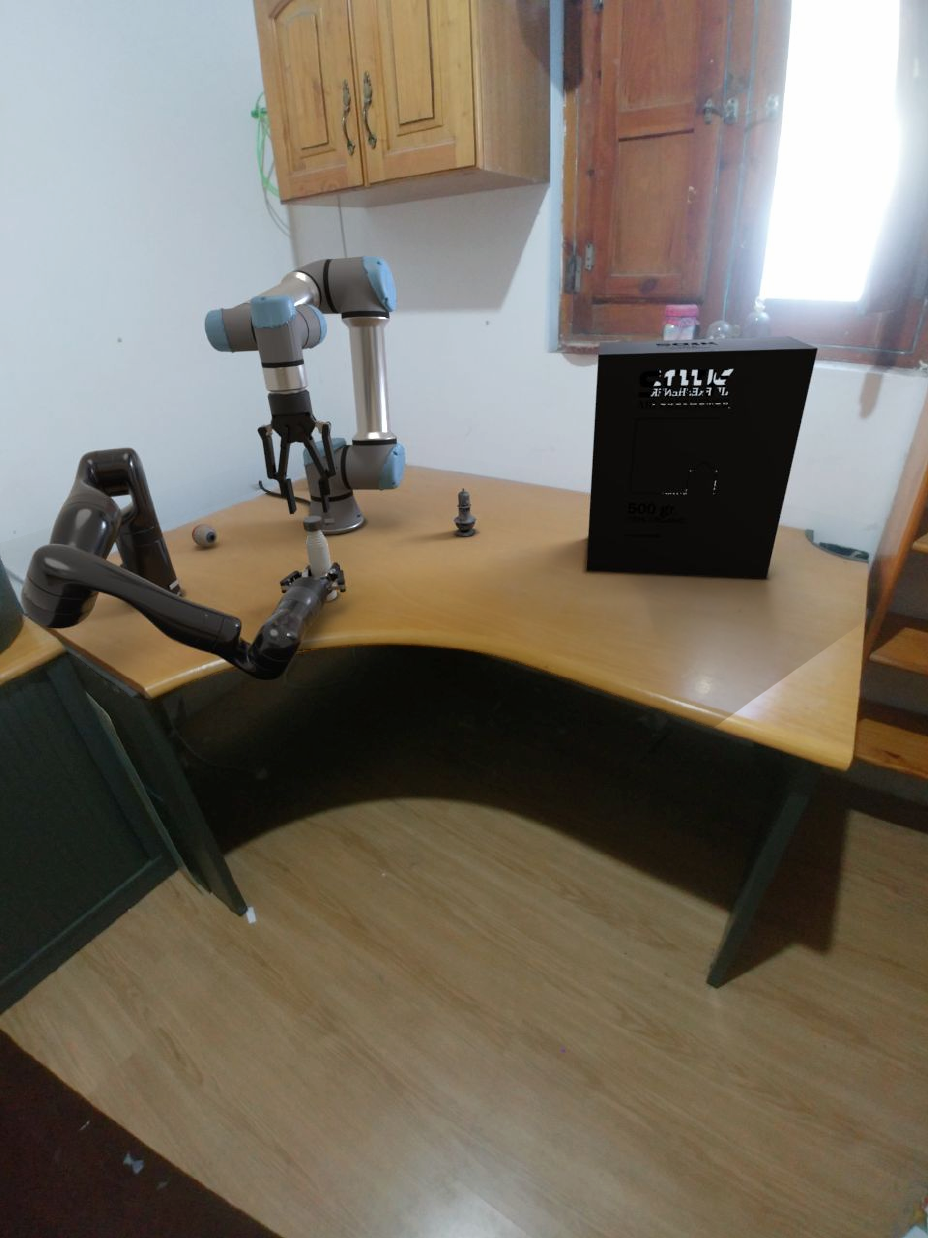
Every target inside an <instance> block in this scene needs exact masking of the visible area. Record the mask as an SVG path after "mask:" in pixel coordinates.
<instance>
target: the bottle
mask: <svg viewBox="0 0 928 1238" xmlns="http://www.w3.org/2000/svg"><path fill="white" fill-rule="evenodd" d="M328 543H329V542H328V540H327V538H326V535H324V534H322V532H321V530H318V531H314V532H308V531H307V535H306V541H305V548H306V553H307V558H308V563H309V564H308V565H310V569H311V574H312V577H316V576H319V575H321V574H322V573H323V572H328V571H329V570H330V568H331V567H332V565H333V564H332V561H331V555H330V554H331V553H330V549H329V544H328ZM333 584H334V583H333ZM337 596H338V593H337V590H333V591H332V593H330V594H329V595H328V596H327V599H326V602H330V601H332V600H334V599H336V598H337Z"/></svg>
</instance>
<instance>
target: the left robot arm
mask: <svg viewBox="0 0 928 1238" xmlns="http://www.w3.org/2000/svg"><path fill="white" fill-rule="evenodd" d="M146 475H147V474H146V471H145V469H144V464H143V462H142V460H141V457H140V456H139V453H138V452H137V451H136V450H135V448H133V447H127V446H126V447H115V448H105V449H97V450H92V451H88V452H86V453H84V454H82V456H81V458H80V459H79V462H78V465H77V469H76V473H75V477H74V481H73V485H72V486H71V488H70V490H69V494H68V495H67V498H66V499H65V501H64V503H63V504H62V506H61V508H60V510H59V512H58V513H57V516H56V518H55V521H54V524H53V527H52V531H51V534H50V538H49V543H48V544H45V545H42V546H40V547H38V548H37V549H36V550H35V551H34V552H33V554H32V556H31V559H30V561H29V564H28V568H27V571H26V574H25V578H24V581H23V584H22V588H21V591H20V603H21V606H22V609H23V611H24V613H25V614H26V615H27V616H28V617H29V619H31V621H33V622H34V623H36V624H38V625H40V626H42V627H45V628H47V629H53V630H55V629H56V630H58V629H61V630H63V629H67V628H68V629H69V628H73V627H75V626H77V625H79V624H81V623H83V622H85V620H86V619H87V618H88V617H89V616H90V615H91V614H92V612H93V610H94V608H95V605H96V602H97V599H98V597H99V594H100V593H102V594H105V595H108V596H111V597H113V598H116V599H118V600H121V601H122V602H124V603H126V604H128V605H129V606H131V608H133V609H135V610H136V611H137V612H139V614H141V615H142V616H143V617H144V618H145V619H147V621H148V622H150V623H151V624H152V625H153V626H154V627H155V628H156V629H157V630H158V631H159V632H160V633H161V634H163V635H164V636H165V637H167V638H168V639H169V640H172V641H174V642H175V643H177V644H180V645H181V646H185V647H188V648H191V649H194V650H197V651H201V652H204V653H207V654H209V655H214V656H217V657H219V658H221V660H223V661H225V662H227V663H228V664H230V665H231V666H233V667H235V668H236V669H238V670H240V671H242V672H243V673H245V674H246V675H248V676H250V677H252V678H254V679H258V680H263V681H272V680H273V681H274V680H276V679H278V678H280V677H281V676H282V675H283V674H284V672H286V669H287V668H288V665H289V664H290V663H291V661H292V660H293V657H294V656H295V654H296V653H297V651H298V650H299V648H300V646H301V644H302V642H303V639H304V638H305V636H306V635H307V633H308V631H309V629H310V628H311V626H312V625H313V624H314V623H315V621H316V620H317V618H318V616H319V615H320V613H321V611H322V610H323V608H324V606H325V605H326V602H327V601H326V599H327V596H328V595H329V594H330V593H332V591H333V590H336V591H339V593H341V594H343V593H346V592H347V587H346V579H345V572H344V570H343V569H341V564H340V563H339V562H338V561H335V562H333V563H332V564H331V565H332V567H331V568H330V570H329V571H328V572H323V573H322V574H321V575H319V576H316V577H312V574H311V569H310V564H308V565H307V566H306V567H305V568H304V569H302V570H301V571H299V570H294V571H292V572H291V573H290V574H288V575H287V576H285V577H283V579H281V580H280V581H279V585H280V589H281V590H280V591H281V594H283V595H282V596H281V598H280V599H279V601H278V604H277V606H276V608H275V609H274V610H273V612H272V613H271V615H270V616H269V617H268V618H267V619H266V620H265V621H264V622H263V623H262V625H261V626H260V628H259V630H258V631H257V633H256V635H255V636H254V638H253V640H252V642H251V643H250V642H249V641H247V640H245V639H244V638H243V637H242V636H241V633H242V628H243V625H242V621H241V619H240V618H238V617H237V616H235V615H232V614H230V613H227V612H224V611H221V610H217V609H215V608H212V607H209V606H207V605H203V604H200V603H197V602H195V601H193V600H189V599H186V598H185V597H183V596H182V595H183V592H182V591H183V590H182V588H181V587H180V582H181V581H180V577H178V578H177V574H176V571H175V567H174V565H173V561H172V559H171V555H170V552H169V549H168V546H167V543H166V540H165V537H164V533H163V531H162V528H161V525H160V521H159V519H158V515H157V512H156V508H155V505H154V501H153V499H152V495H151V491H150V487H149V484H148V480H147V476H146ZM123 496H130V498H131V502H129V503H127V505H125V506H124V507H121V508H120V507H119V504H118V503H117V502H116V501H115V500H114V499H113V498H115V497H123ZM114 545H115V546H116V548H117V551H118V554H119V557H120V560H121V563H120V564H119V565H118V564H116V563H113V562H112V561H110V560H107V559H108V557H109V555H110V553H111V551H112V550H113V547H114ZM333 583H334V584H333Z"/></svg>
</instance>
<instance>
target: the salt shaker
mask: <svg viewBox="0 0 928 1238" xmlns="http://www.w3.org/2000/svg"><path fill="white" fill-rule="evenodd" d="M461 490H462V491H460V492H458V494H457V500H458V504H457V505H456V507H457V508H458V516H456V517H454V519H453V522H454V524H455V526H456V528H458V529H457V530H456V531H455V534H456V535H457V536H460V537H469V536H473V535H475V534H476V529H474V527H475V524H476V521H477V517H475V516H473V515H472V513H471V507H472V504H471V502H470V501H471V500H470V493H469V492H468V491H466V490H465V488H464V487H463V488H462V489H461Z"/></svg>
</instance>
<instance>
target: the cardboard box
mask: <svg viewBox="0 0 928 1238" xmlns="http://www.w3.org/2000/svg"><path fill="white" fill-rule="evenodd" d="M818 349H819V348H818V347H817V346H816V347H815V346H813V345H811V344H808V343H806V342H804V341H801V340H799V339H798V338H797V339H796V338H794V337H792V336H788V335H785V336H783V335H782V336H757V337H756V336H755V337H753V336H752V337H727V338H726V337H725V338H724V337H723V338H695V339H694V338H693V339H667V340H663V339H662V340H638V341H637V340H635V341H634V340H633V341H610V342H609V341H605V342H604V341H603V342H599V347H598V353H597V372H596V374H597V375H596V390H595V404H594V407H595V408H594V422H593V423H594V426H593V443H592V461H591V463H592V464H591V479H590V495H589V497H590V499H589V516H588V534H587V553H586V570H585V571H586V572H596V573H597V572H600V573H602V572H603V573H620V574H621V573H623V574H645V575H646V574H647V575H670V576H691V577H714V578H715V577H717V578H718V577H719V578H739V579H741V578H743V579H761V580H762V579H765V580H767V578H768V575H769V569H770V564H771V560H772V557H773V551H774V547H775V542H776V538H777V534H778V529H779V524H780V520H781V515H782V511H783V506H784V503H785V498H786V493H787V489H788V484H789V479H790V475H791V471H792V467H793V462H794V457H795V453H796V448H797V443H798V439H799V436H800V430H801V426H802V421H803V417H804V413H805V408H806V403H807V400H808V394H809V390H810V385H811V381H812V377H813V372H814V367H815V363H816V358H817V354H818V351H819V350H818ZM729 370H732V371H731V372H730V373H729V375H723V374H724V373H725V371H729ZM670 371H674V375H672V376H671V377H670V385H668V384H669V376H668V375H667V373H668V372H670ZM681 371H686V372H685V381H687V384H682V381H683V375H681ZM693 371H697V372H696V375H693ZM710 371H712V375H711V380H710V382H709V375H710ZM695 379H696V381H700V384H695ZM719 380H720V381H724V382H723V383H724V384H717V383H715V381H719ZM657 382H658V383H659V384H660V385H655V384H656V383H657ZM708 382H709V383H708Z"/></svg>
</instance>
